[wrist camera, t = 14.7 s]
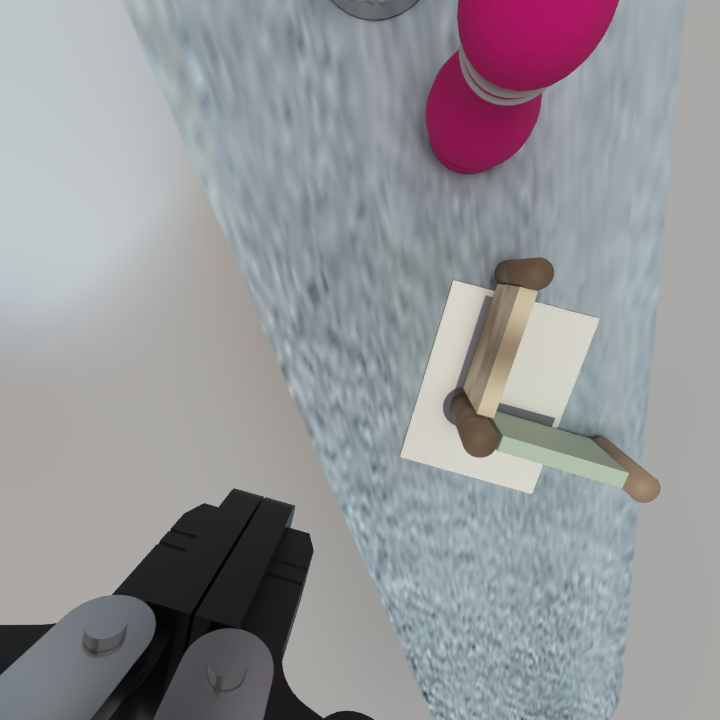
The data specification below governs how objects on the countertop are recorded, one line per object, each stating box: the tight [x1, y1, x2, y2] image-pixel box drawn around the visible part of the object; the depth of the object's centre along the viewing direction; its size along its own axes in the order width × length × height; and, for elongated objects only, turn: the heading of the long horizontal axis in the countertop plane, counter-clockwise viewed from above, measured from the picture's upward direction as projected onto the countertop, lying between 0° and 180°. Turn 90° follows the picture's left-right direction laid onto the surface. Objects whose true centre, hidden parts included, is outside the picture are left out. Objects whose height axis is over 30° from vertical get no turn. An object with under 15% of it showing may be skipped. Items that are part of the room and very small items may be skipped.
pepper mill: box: [426, 0, 619, 174], centre depth 23 cm, size 7×7×20 cm
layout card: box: [400, 280, 600, 494], centre depth 36 cm, size 16×12×1 cm
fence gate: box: [486, 411, 660, 503], centre depth 32 cm, size 11×2×7 cm, turn 74°
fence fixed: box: [450, 258, 554, 458], centre depth 32 cm, size 14×2×8 cm, turn 165°
